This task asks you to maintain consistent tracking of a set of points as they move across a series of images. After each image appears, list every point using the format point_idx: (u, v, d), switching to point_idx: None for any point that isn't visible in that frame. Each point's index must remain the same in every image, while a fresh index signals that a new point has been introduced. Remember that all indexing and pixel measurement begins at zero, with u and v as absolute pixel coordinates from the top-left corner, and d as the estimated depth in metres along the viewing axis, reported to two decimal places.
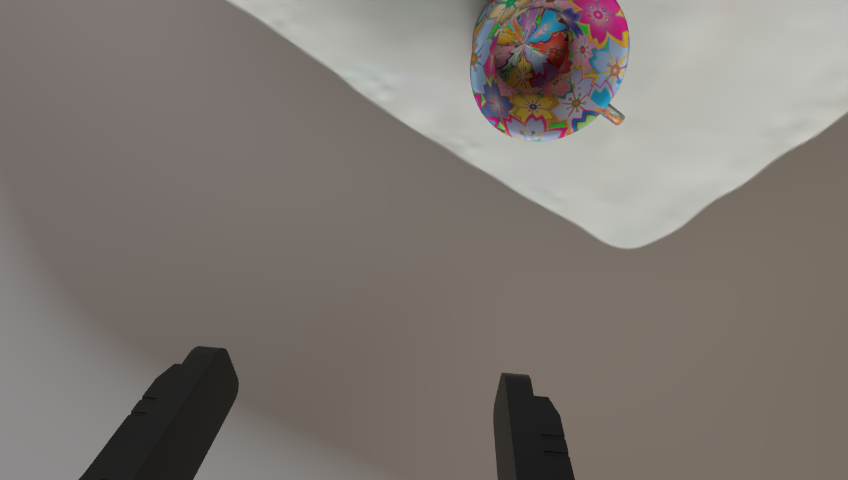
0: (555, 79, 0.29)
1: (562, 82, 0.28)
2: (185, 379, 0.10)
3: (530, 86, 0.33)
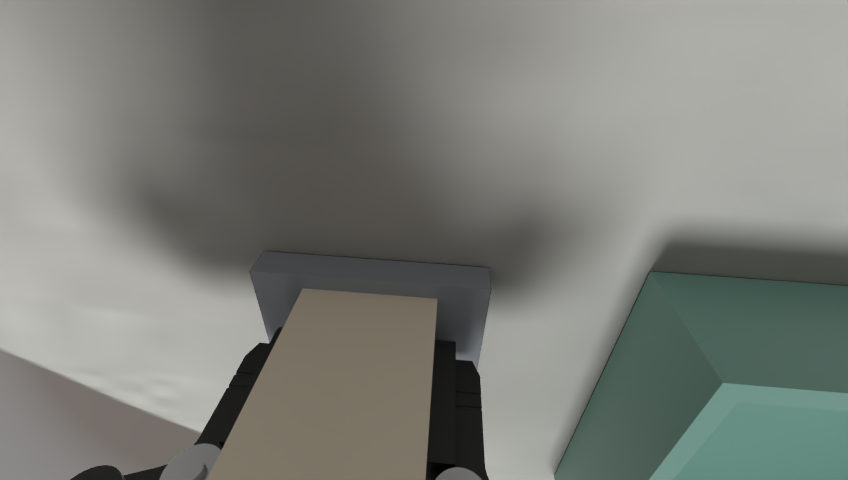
0: None
1: None
2: None
3: None
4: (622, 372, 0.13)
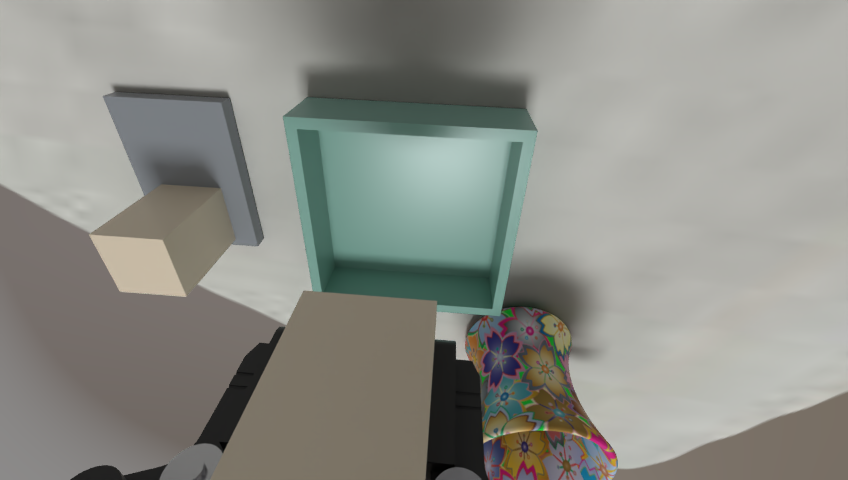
0: None
1: None
2: None
3: None
4: None
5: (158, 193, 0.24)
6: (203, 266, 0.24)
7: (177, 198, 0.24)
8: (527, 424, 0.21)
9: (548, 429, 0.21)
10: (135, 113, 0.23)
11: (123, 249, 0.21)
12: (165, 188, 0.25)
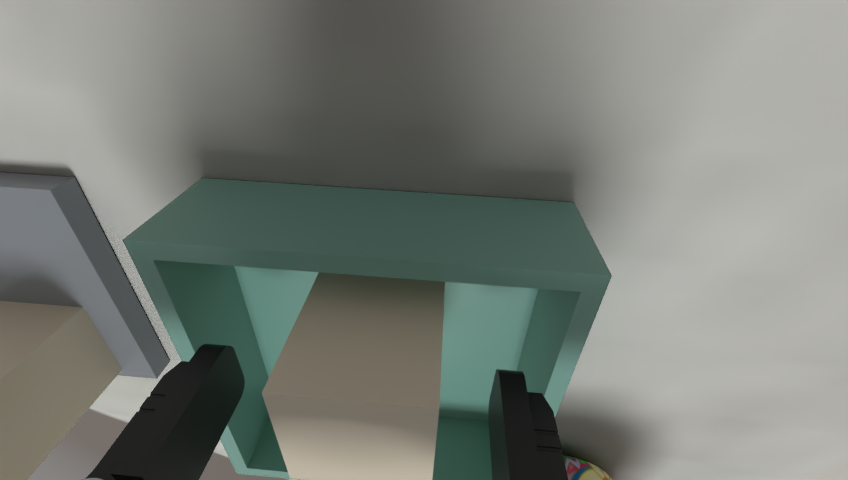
0: None
1: None
2: (193, 376, 0.10)
3: None
4: None
5: None
6: (42, 445, 0.15)
7: (0, 334, 0.15)
8: None
9: None
10: None
11: None
12: None
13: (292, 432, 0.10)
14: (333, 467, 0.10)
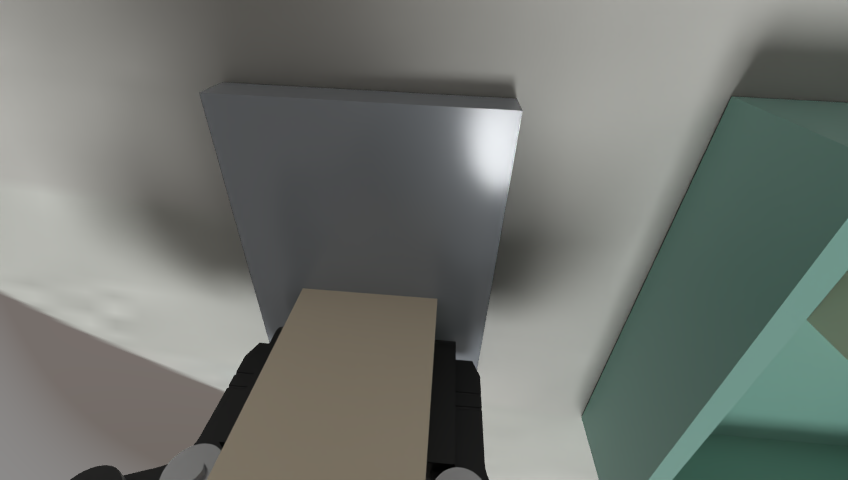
0: None
1: None
2: None
3: None
4: (685, 248, 0.10)
5: (310, 319, 0.10)
6: None
7: (362, 337, 0.10)
8: None
9: None
10: (278, 138, 0.09)
11: None
12: (317, 301, 0.11)
13: None
14: None
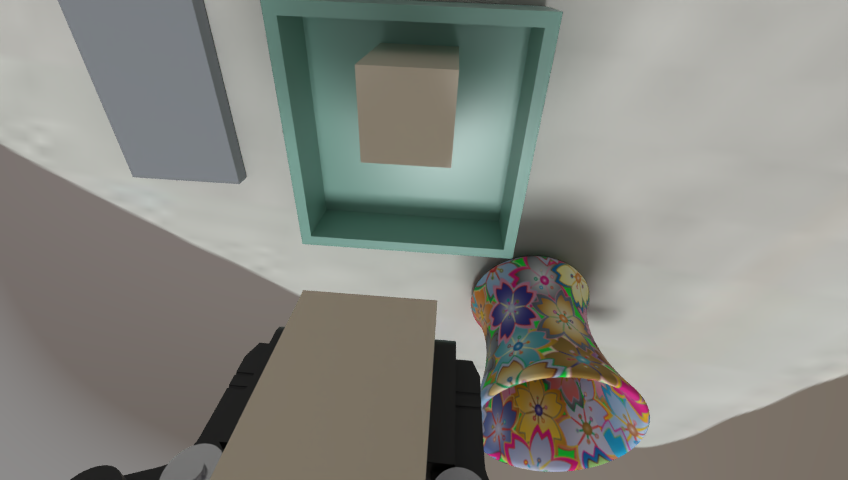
0: None
1: (571, 378, 0.25)
2: None
3: None
4: None
5: (310, 321, 0.10)
6: None
7: (362, 339, 0.10)
8: (547, 370, 0.18)
9: (571, 375, 0.18)
10: (93, 15, 0.20)
11: None
12: (318, 303, 0.11)
13: (368, 106, 0.16)
14: (390, 145, 0.17)
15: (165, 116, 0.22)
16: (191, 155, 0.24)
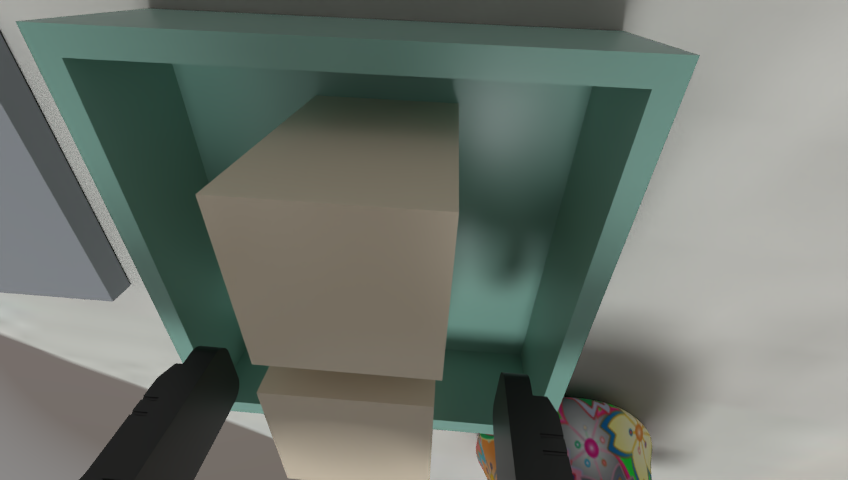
0: None
1: None
2: (186, 378, 0.10)
3: None
4: None
5: None
6: None
7: None
8: None
9: None
10: None
11: (327, 419, 0.09)
12: None
13: (247, 275, 0.07)
14: (308, 341, 0.08)
15: None
16: (28, 261, 0.15)
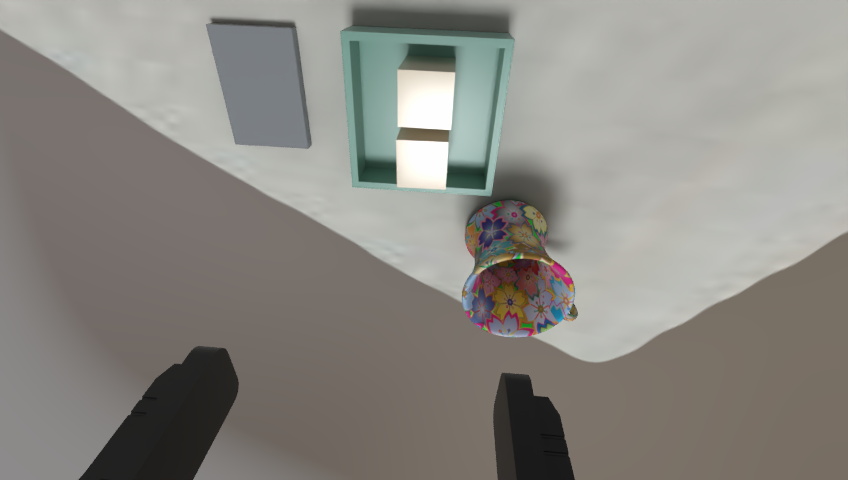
0: (528, 272, 0.38)
1: (532, 281, 0.37)
2: (185, 379, 0.10)
3: (510, 260, 0.42)
4: None
5: None
6: None
7: None
8: (509, 254, 0.30)
9: (523, 256, 0.30)
10: (228, 38, 0.32)
11: (415, 151, 0.30)
12: None
13: (403, 93, 0.28)
14: (415, 116, 0.28)
15: (263, 102, 0.34)
16: (277, 128, 0.36)
